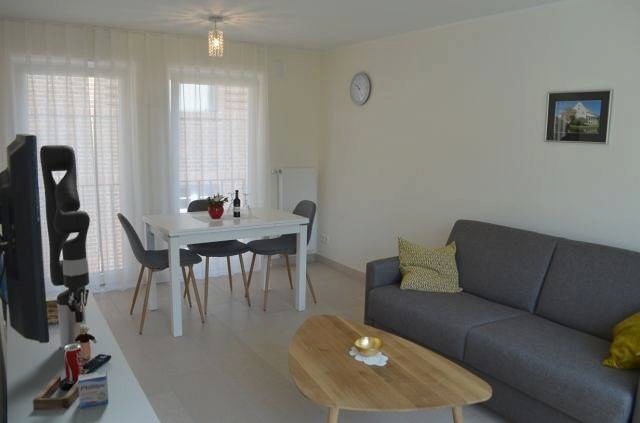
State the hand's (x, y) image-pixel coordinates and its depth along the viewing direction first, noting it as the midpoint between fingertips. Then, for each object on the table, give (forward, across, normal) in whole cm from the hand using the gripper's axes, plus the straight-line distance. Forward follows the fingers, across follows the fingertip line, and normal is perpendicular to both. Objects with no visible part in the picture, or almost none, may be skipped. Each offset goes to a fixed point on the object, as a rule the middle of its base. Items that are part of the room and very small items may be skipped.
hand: (79, 321), depth 171 cm
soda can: (+18, +7, 0) cm, 19 cm away
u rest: (+18, +17, 0) cm, 24 cm away
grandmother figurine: (+18, -10, -3) cm, 21 cm away
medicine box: (+18, +21, +11) cm, 30 cm away
